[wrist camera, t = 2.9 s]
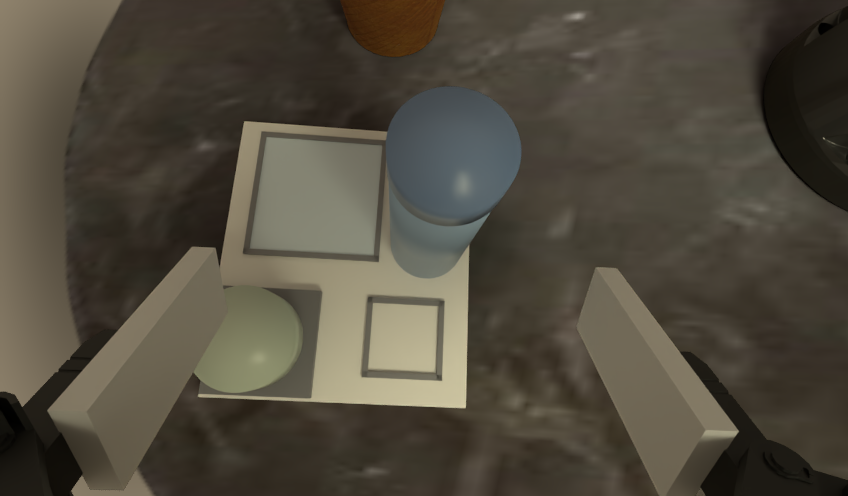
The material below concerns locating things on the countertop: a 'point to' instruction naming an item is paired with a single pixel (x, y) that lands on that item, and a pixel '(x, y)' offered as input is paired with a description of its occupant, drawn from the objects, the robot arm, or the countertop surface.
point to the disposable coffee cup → (393, 24)
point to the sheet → (341, 272)
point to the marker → (446, 174)
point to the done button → (252, 342)
